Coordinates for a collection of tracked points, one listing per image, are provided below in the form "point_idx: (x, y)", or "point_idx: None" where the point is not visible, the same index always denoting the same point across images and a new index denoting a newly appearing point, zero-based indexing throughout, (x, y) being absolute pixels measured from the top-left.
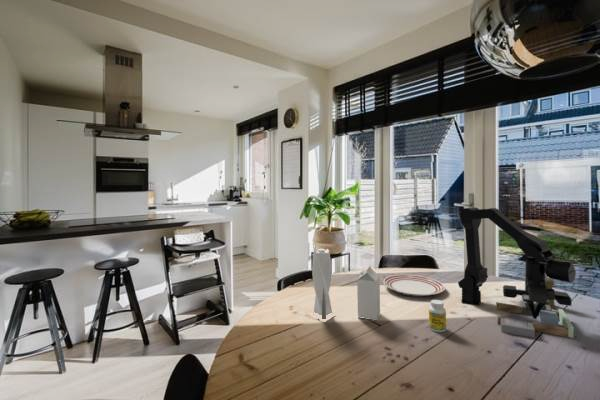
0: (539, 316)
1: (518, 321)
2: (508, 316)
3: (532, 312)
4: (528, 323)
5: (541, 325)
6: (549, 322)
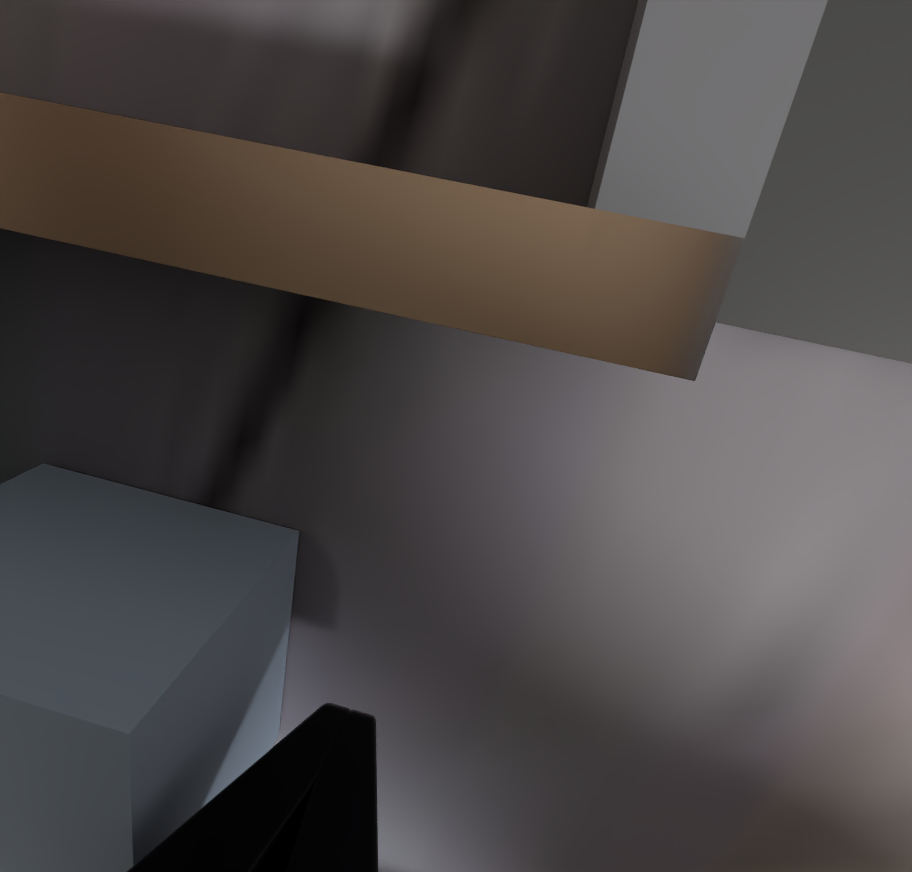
0: None
1: (696, 660)
2: (799, 849)
3: (354, 863)
4: (769, 123)
5: (318, 161)
6: (99, 548)
